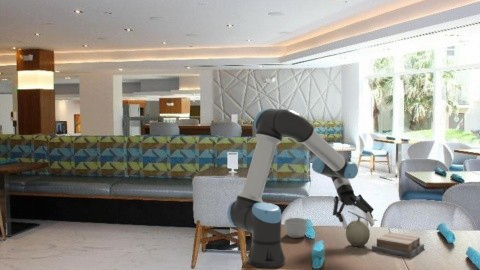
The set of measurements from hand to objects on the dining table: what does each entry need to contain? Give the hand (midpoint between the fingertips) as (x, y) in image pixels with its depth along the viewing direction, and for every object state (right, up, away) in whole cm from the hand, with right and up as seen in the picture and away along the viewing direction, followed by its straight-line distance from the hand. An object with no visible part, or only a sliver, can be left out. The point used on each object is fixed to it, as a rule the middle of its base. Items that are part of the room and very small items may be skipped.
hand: (359, 226), depth 225 cm
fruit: (0, -9, 0) cm, 9 cm away
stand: (+16, -9, -6) cm, 19 cm away
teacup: (-27, -8, +17) cm, 33 cm away
